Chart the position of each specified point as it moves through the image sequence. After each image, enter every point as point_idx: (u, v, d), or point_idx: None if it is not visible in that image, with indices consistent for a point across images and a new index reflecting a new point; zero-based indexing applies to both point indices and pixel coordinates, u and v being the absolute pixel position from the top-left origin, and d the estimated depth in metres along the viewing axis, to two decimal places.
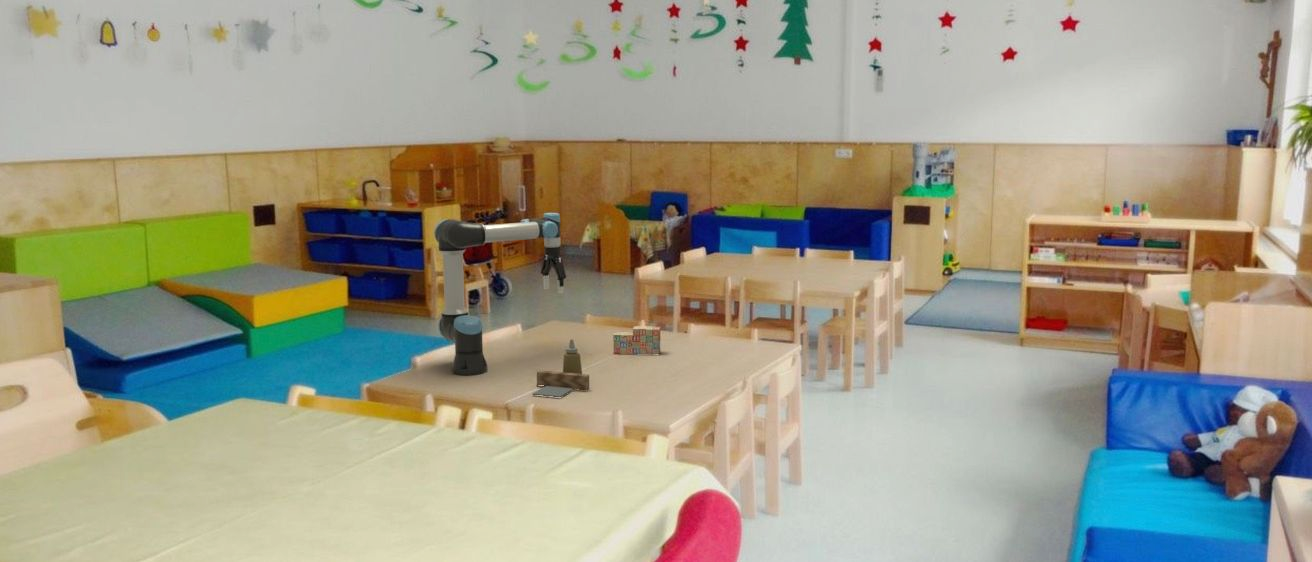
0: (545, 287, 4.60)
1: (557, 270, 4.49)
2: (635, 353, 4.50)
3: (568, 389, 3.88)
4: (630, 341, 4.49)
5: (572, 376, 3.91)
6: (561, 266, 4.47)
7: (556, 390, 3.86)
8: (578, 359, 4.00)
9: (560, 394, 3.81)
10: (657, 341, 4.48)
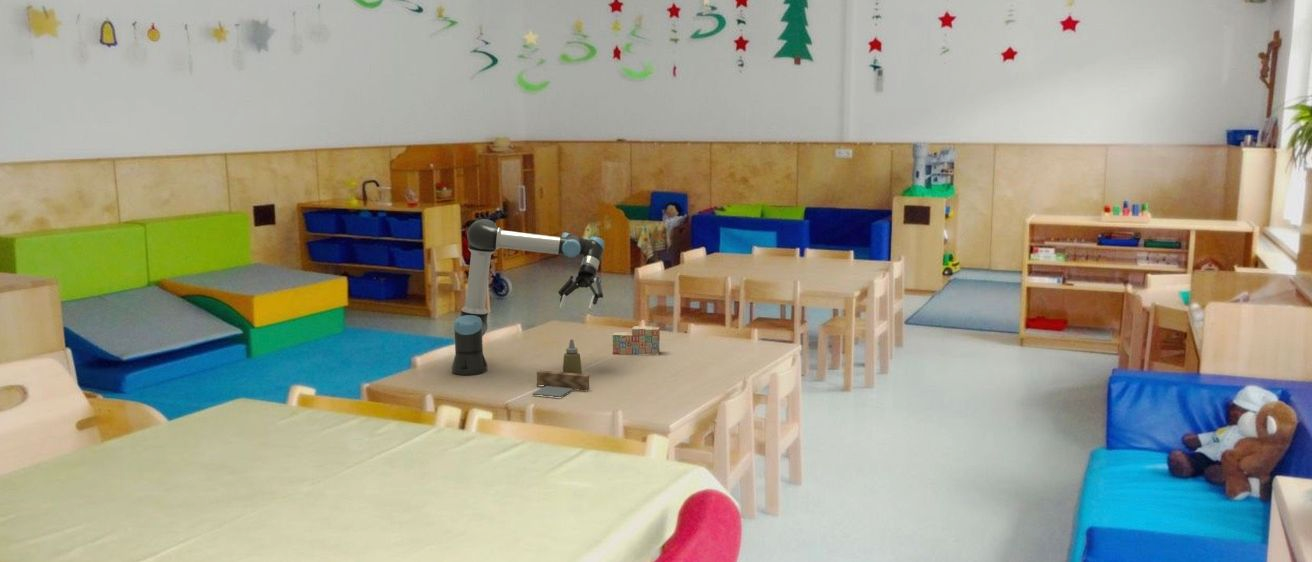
0: (561, 305, 4.15)
1: (593, 288, 4.16)
2: (634, 353, 4.50)
3: (568, 389, 3.88)
4: (629, 341, 4.49)
5: (572, 376, 3.91)
6: (600, 285, 4.17)
7: (556, 390, 3.86)
8: (578, 359, 4.00)
9: (560, 394, 3.81)
10: (656, 341, 4.48)
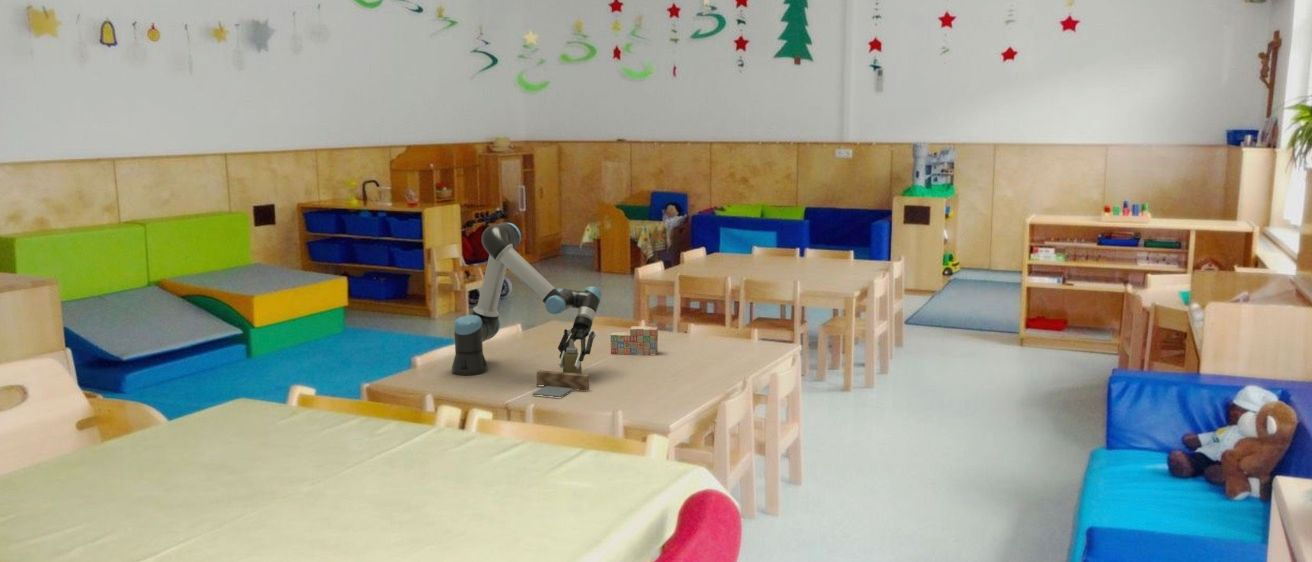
0: (561, 362, 3.99)
1: (583, 343, 4.02)
2: (632, 353, 4.50)
3: (568, 389, 3.88)
4: (627, 341, 4.49)
5: (572, 376, 3.91)
6: (591, 341, 4.03)
7: (556, 390, 3.86)
8: None
9: (560, 394, 3.81)
10: (654, 341, 4.48)
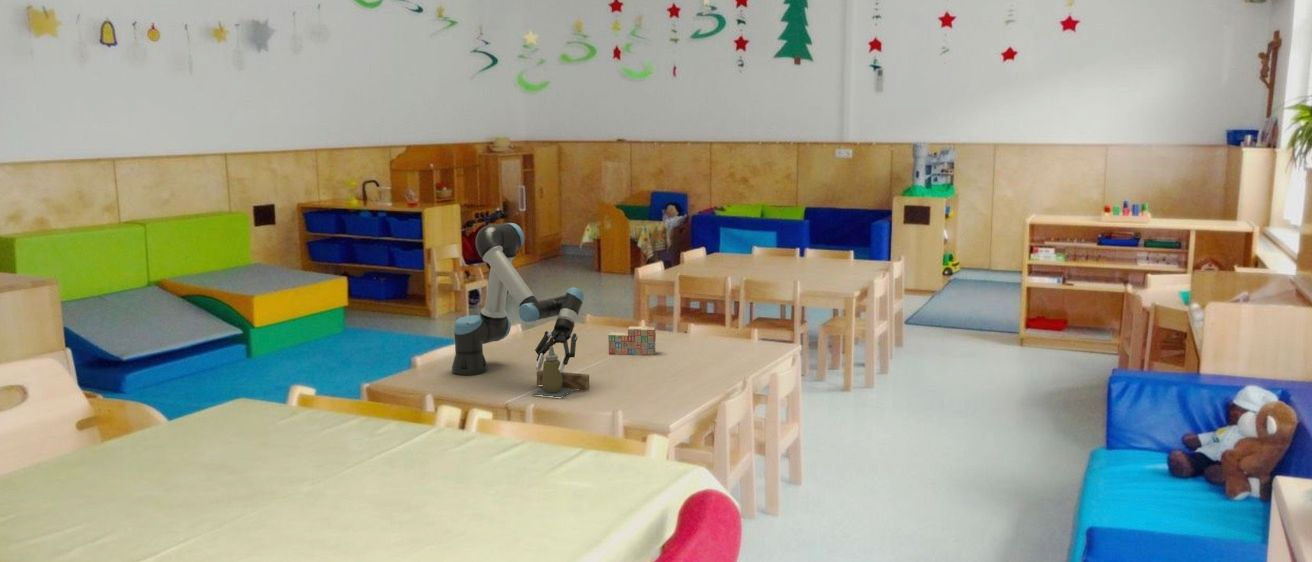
0: (538, 365, 3.83)
1: (567, 346, 3.85)
2: (630, 353, 4.50)
3: (568, 389, 3.88)
4: (625, 342, 4.49)
5: (572, 376, 3.91)
6: (574, 343, 3.86)
7: None
8: (558, 367, 3.83)
9: (560, 394, 3.81)
10: (652, 341, 4.47)
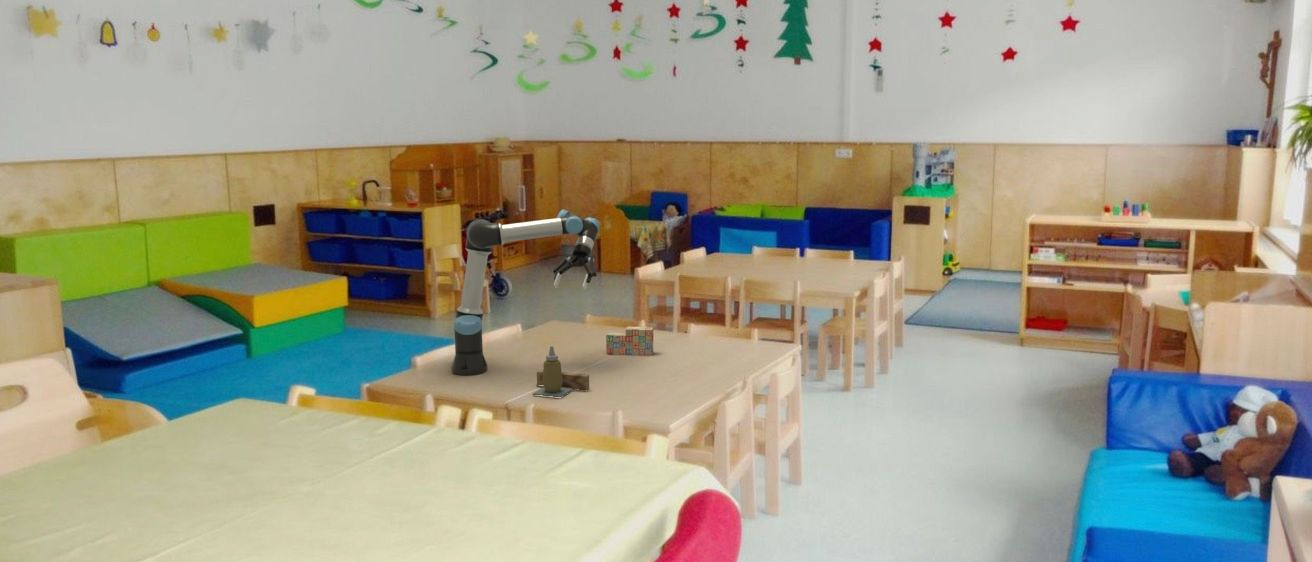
0: (555, 283, 4.22)
1: (587, 267, 4.23)
2: (628, 353, 4.49)
3: (568, 389, 3.88)
4: (623, 342, 4.49)
5: (572, 376, 3.91)
6: (594, 265, 4.24)
7: None
8: (558, 367, 3.83)
9: (560, 394, 3.81)
10: (650, 341, 4.47)
